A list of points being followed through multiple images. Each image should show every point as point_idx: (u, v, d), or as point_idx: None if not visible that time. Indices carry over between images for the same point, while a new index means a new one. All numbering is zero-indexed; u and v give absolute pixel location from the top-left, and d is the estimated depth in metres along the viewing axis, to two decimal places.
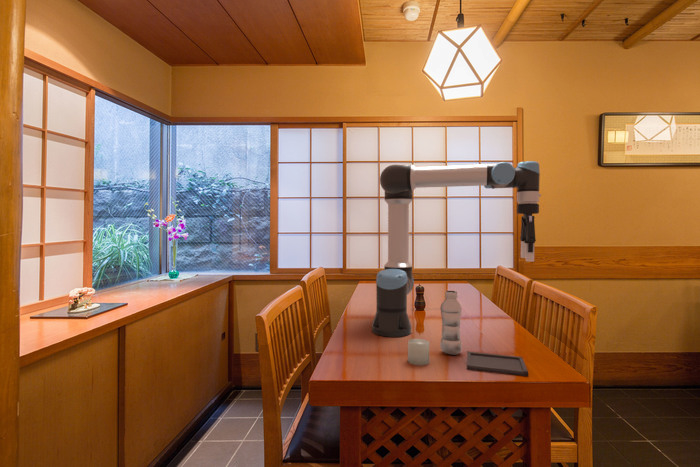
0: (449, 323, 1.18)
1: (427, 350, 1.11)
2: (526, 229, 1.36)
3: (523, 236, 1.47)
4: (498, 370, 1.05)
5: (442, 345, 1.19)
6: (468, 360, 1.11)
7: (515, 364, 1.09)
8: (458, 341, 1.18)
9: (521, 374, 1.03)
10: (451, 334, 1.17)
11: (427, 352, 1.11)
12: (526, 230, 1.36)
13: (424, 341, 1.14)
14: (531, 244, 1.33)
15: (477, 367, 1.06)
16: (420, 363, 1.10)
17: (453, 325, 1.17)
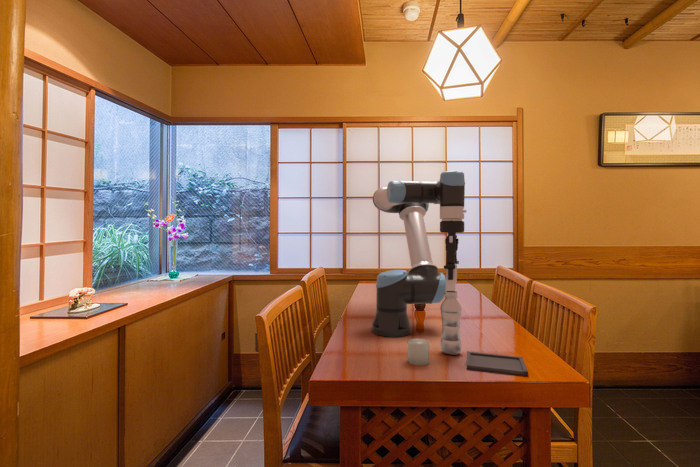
0: (449, 323, 1.18)
1: (427, 350, 1.11)
2: None
3: None
4: (498, 370, 1.05)
5: (442, 345, 1.19)
6: (468, 360, 1.11)
7: (515, 364, 1.09)
8: (458, 341, 1.18)
9: (521, 374, 1.03)
10: (451, 334, 1.17)
11: (427, 352, 1.11)
12: None
13: (423, 340, 1.14)
14: (451, 270, 1.11)
15: (477, 367, 1.06)
16: (420, 363, 1.10)
17: (453, 325, 1.17)
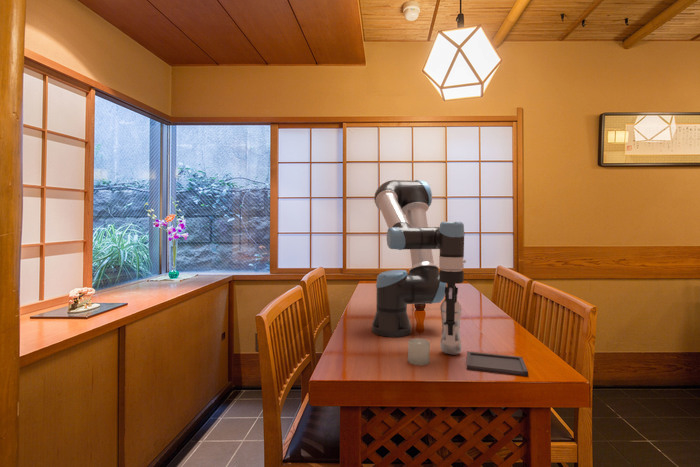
0: None
1: (427, 350, 1.11)
2: None
3: None
4: (498, 370, 1.05)
5: (442, 345, 1.19)
6: (468, 360, 1.11)
7: (515, 364, 1.09)
8: (458, 341, 1.18)
9: (521, 374, 1.03)
10: None
11: (427, 352, 1.11)
12: None
13: (424, 340, 1.14)
14: (451, 326, 1.15)
15: (477, 367, 1.06)
16: (420, 363, 1.10)
17: None
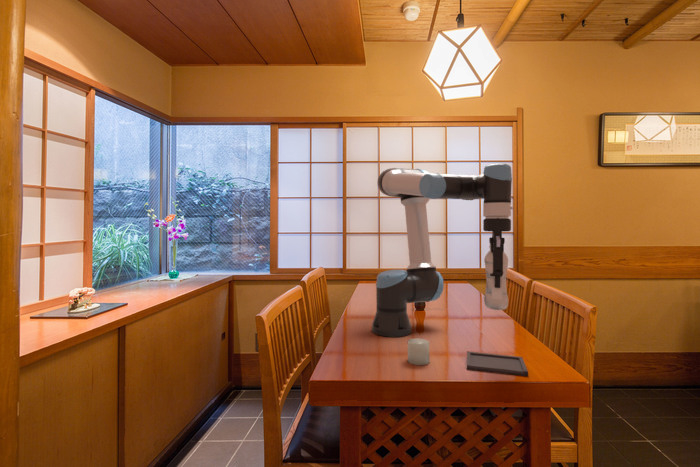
0: None
1: (427, 349, 1.11)
2: None
3: None
4: (498, 370, 1.05)
5: (487, 300, 1.09)
6: (468, 360, 1.11)
7: (515, 364, 1.09)
8: (505, 295, 1.07)
9: (521, 374, 1.03)
10: None
11: (427, 351, 1.11)
12: None
13: (423, 340, 1.14)
14: (498, 277, 1.05)
15: (477, 367, 1.06)
16: (421, 362, 1.10)
17: None
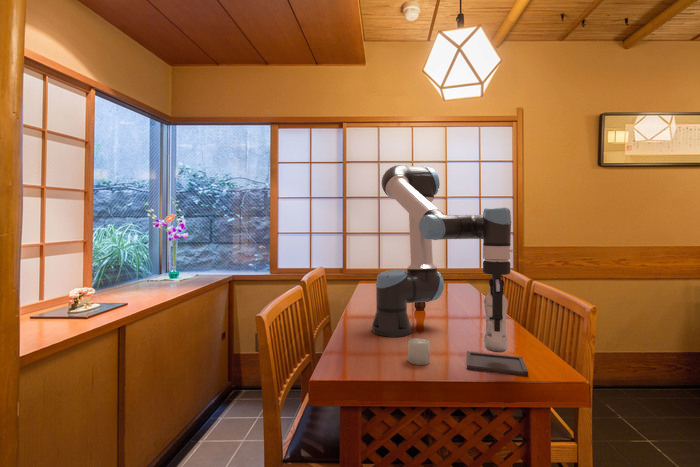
0: None
1: (428, 349, 1.11)
2: (493, 299, 1.07)
3: None
4: (498, 370, 1.05)
5: (487, 342, 1.09)
6: (468, 360, 1.11)
7: (515, 364, 1.09)
8: (505, 338, 1.08)
9: (521, 374, 1.03)
10: None
11: (428, 351, 1.11)
12: (493, 300, 1.07)
13: (423, 340, 1.15)
14: (498, 321, 1.05)
15: (477, 367, 1.06)
16: (422, 362, 1.10)
17: None
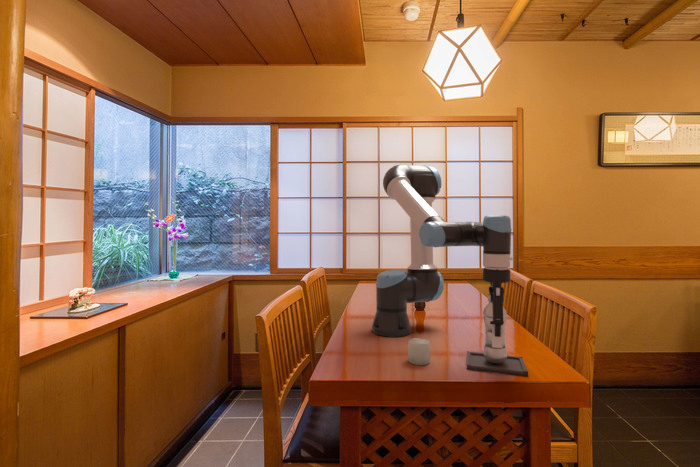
0: None
1: (429, 349, 1.12)
2: (493, 304, 1.06)
3: None
4: (498, 370, 1.05)
5: (486, 353, 1.09)
6: (468, 360, 1.11)
7: (515, 364, 1.09)
8: (504, 349, 1.08)
9: (521, 374, 1.03)
10: None
11: (429, 351, 1.12)
12: None
13: (423, 340, 1.15)
14: (498, 326, 1.02)
15: (477, 367, 1.06)
16: (423, 362, 1.10)
17: None
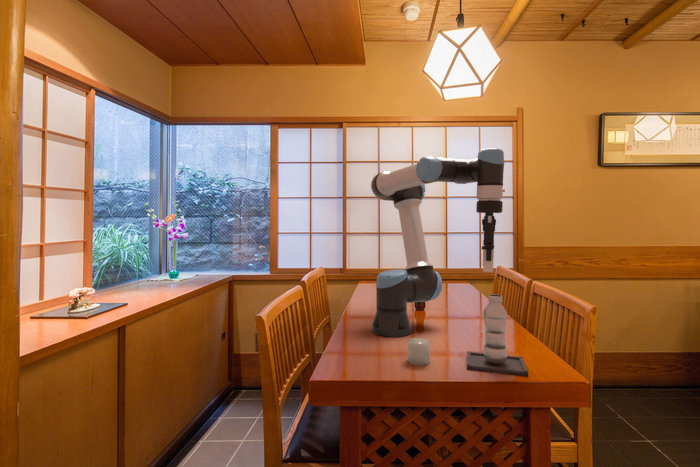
0: (494, 330, 1.08)
1: (428, 349, 1.12)
2: None
3: None
4: (498, 370, 1.05)
5: (486, 354, 1.09)
6: (468, 360, 1.11)
7: (515, 364, 1.09)
8: (504, 349, 1.08)
9: (521, 374, 1.03)
10: (497, 341, 1.08)
11: (428, 351, 1.12)
12: None
13: (421, 339, 1.14)
14: (489, 251, 1.08)
15: (477, 367, 1.06)
16: (424, 363, 1.10)
17: (498, 333, 1.08)
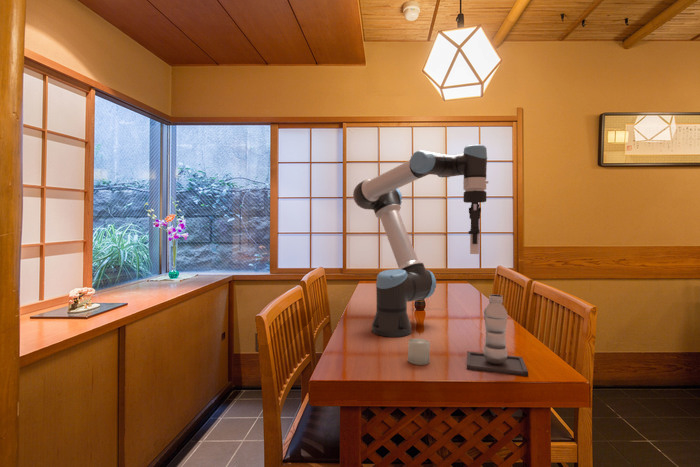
0: (494, 330, 1.08)
1: (429, 348, 1.12)
2: None
3: None
4: (498, 370, 1.05)
5: (486, 354, 1.09)
6: (468, 360, 1.11)
7: (515, 364, 1.09)
8: (504, 349, 1.08)
9: (521, 374, 1.03)
10: (497, 341, 1.08)
11: (429, 350, 1.12)
12: None
13: (422, 340, 1.15)
14: (475, 235, 1.21)
15: (477, 367, 1.06)
16: (425, 362, 1.10)
17: (499, 333, 1.08)
